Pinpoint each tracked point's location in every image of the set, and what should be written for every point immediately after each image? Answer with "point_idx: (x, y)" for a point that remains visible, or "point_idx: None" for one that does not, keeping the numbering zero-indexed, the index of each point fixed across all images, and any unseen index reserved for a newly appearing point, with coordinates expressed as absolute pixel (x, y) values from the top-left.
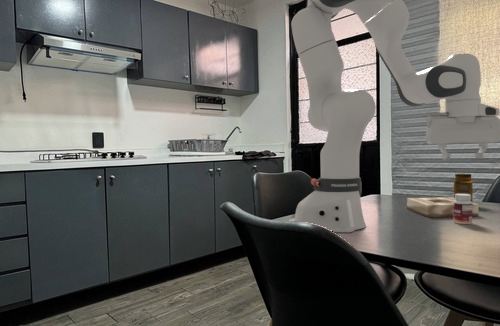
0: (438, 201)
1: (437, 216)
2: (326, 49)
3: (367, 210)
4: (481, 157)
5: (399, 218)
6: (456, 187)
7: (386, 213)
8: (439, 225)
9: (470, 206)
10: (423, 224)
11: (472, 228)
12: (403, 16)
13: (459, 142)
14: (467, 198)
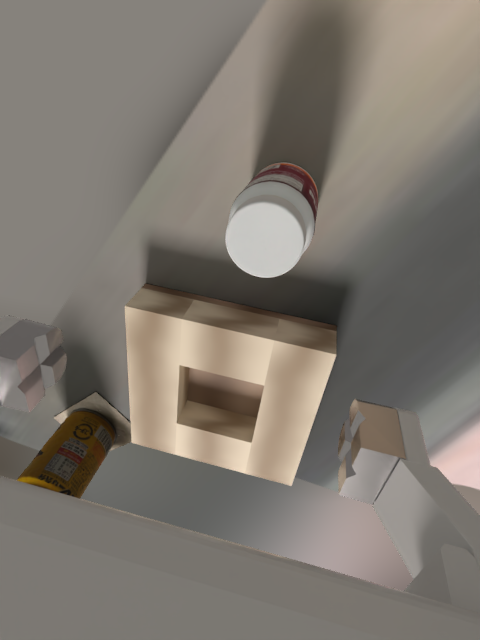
0: (203, 423)
1: (297, 318)
2: None
3: (457, 477)
4: (27, 320)
5: (466, 339)
6: (82, 482)
7: (434, 421)
8: (424, 174)
9: (261, 180)
10: (475, 211)
11: (331, 76)
12: None
13: (238, 550)
14: (268, 197)
